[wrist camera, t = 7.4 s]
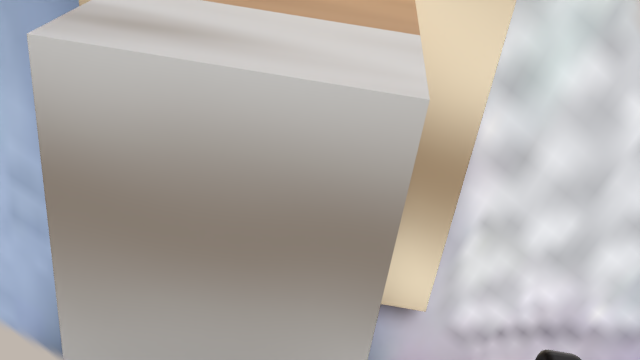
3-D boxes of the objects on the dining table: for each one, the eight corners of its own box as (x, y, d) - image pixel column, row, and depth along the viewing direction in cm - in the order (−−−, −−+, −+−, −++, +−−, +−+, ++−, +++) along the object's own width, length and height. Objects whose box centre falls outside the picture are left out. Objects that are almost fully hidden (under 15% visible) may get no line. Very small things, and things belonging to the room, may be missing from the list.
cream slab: (422, 274, 17) (425, 311, 16) (119, 221, 18) (95, 254, 16) (527, -103, 12) (544, -96, 11) (103, -169, 13) (67, -170, 11)
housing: (364, 238, 15) (351, 425, 10) (169, 204, 15) (65, 374, 10) (414, -4, 12) (429, 99, 7) (171, -42, 12) (27, 33, 7)
